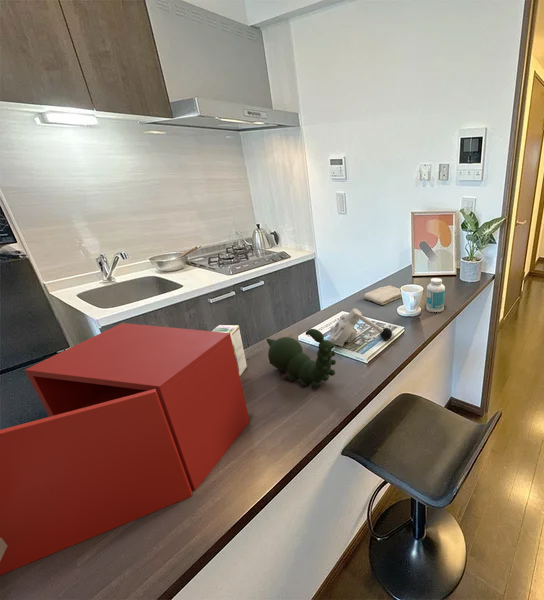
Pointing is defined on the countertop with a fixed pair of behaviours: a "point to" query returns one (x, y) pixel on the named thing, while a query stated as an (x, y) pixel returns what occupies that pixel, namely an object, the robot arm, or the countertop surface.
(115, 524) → the door
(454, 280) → the countertop surface
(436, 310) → the pill bottle
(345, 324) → the mechanical valve
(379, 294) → the washcloth
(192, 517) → the countertop surface
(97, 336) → the red cupboard
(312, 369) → the toy figurine
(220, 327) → the syrup box
